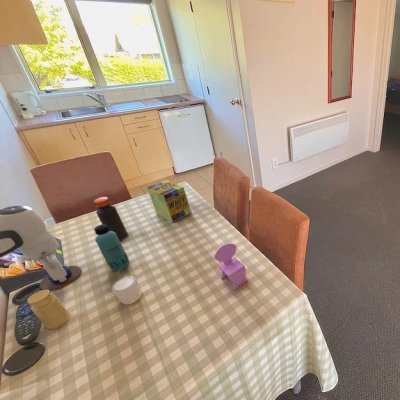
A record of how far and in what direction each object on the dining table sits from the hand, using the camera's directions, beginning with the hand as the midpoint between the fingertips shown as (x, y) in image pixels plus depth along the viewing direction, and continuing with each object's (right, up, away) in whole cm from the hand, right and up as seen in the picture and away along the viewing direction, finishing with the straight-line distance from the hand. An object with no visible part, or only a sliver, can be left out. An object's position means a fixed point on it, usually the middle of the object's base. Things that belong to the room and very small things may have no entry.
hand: (60, 275), depth 99 cm
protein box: (+21, +21, +38) cm, 49 cm away
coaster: (0, -1, +1) cm, 1 cm away
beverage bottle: (+19, +1, +5) cm, 20 cm away
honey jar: (+14, -10, -15) cm, 23 cm away
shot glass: (+32, -6, -7) cm, 33 cm away
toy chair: (+66, -1, -1) cm, 66 cm away
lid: (0, -1, 0) cm, 1 cm away
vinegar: (+6, +11, +22) cm, 25 cm away
